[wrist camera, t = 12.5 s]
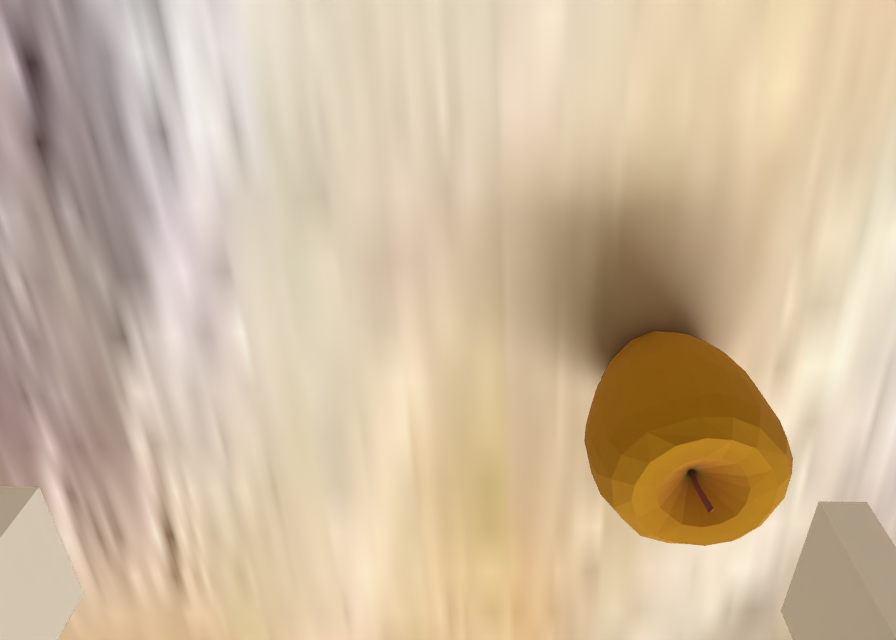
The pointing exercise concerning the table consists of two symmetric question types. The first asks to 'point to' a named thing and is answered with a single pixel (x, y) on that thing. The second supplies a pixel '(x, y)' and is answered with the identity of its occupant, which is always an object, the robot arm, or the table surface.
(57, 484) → the table surface
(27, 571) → the robot arm
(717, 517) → the apple
